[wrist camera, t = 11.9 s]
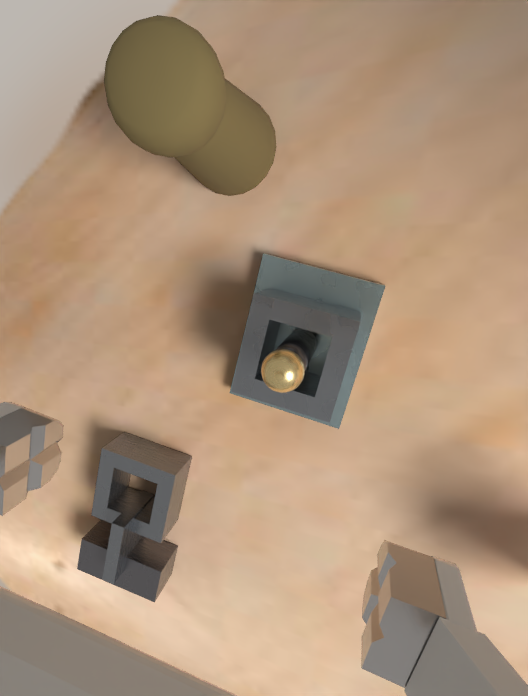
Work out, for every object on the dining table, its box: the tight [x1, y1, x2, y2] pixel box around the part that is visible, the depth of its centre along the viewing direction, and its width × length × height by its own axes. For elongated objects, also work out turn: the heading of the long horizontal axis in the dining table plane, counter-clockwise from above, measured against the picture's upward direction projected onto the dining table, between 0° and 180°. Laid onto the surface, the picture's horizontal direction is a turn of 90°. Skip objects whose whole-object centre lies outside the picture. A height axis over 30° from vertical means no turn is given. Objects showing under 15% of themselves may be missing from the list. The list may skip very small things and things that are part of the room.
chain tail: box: [77, 432, 192, 602], centre depth 32 cm, size 12×7×4 cm, turn 166°
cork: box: [104, 15, 276, 196], centre depth 21 cm, size 6×6×11 cm
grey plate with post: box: [230, 254, 385, 429], centre depth 24 cm, size 10×8×9 cm
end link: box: [231, 288, 361, 423], centre depth 25 cm, size 6×6×4 cm
